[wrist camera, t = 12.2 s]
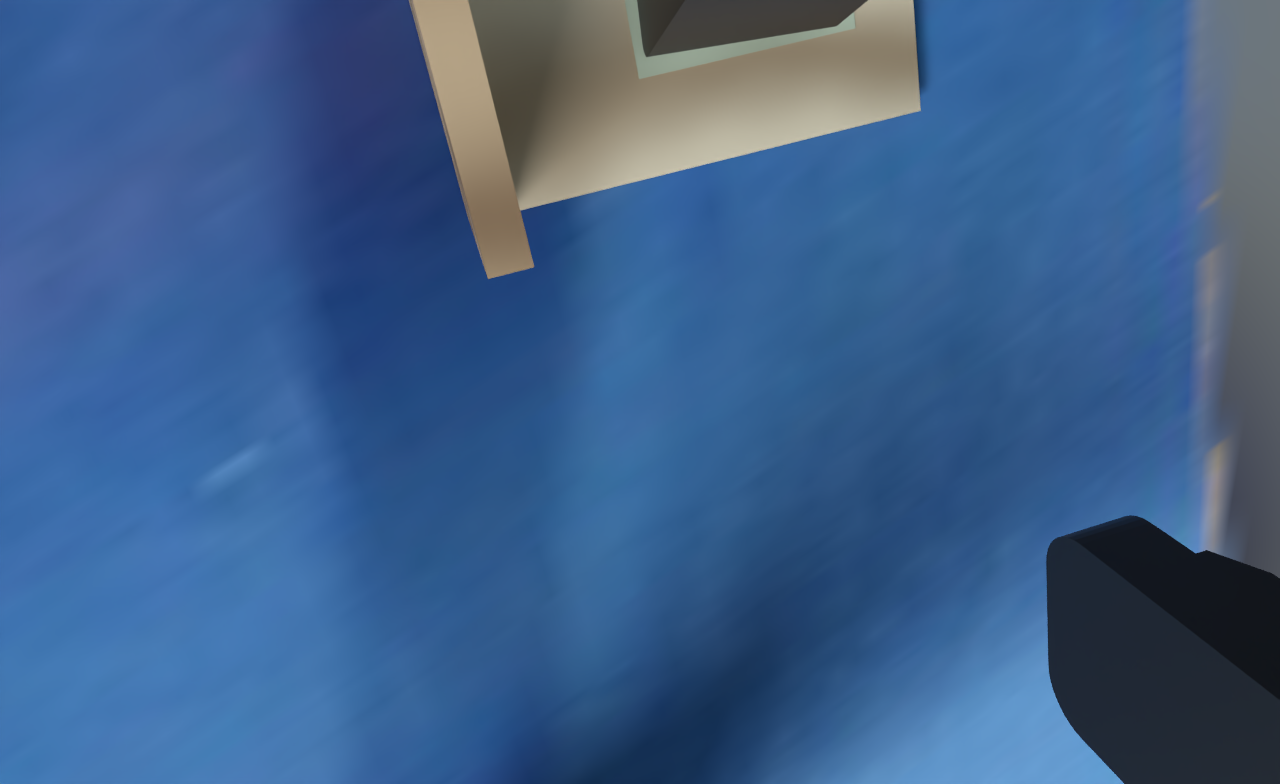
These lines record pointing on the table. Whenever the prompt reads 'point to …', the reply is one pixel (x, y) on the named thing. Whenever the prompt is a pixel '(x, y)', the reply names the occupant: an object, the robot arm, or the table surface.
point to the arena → (635, 99)
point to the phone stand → (732, 21)
